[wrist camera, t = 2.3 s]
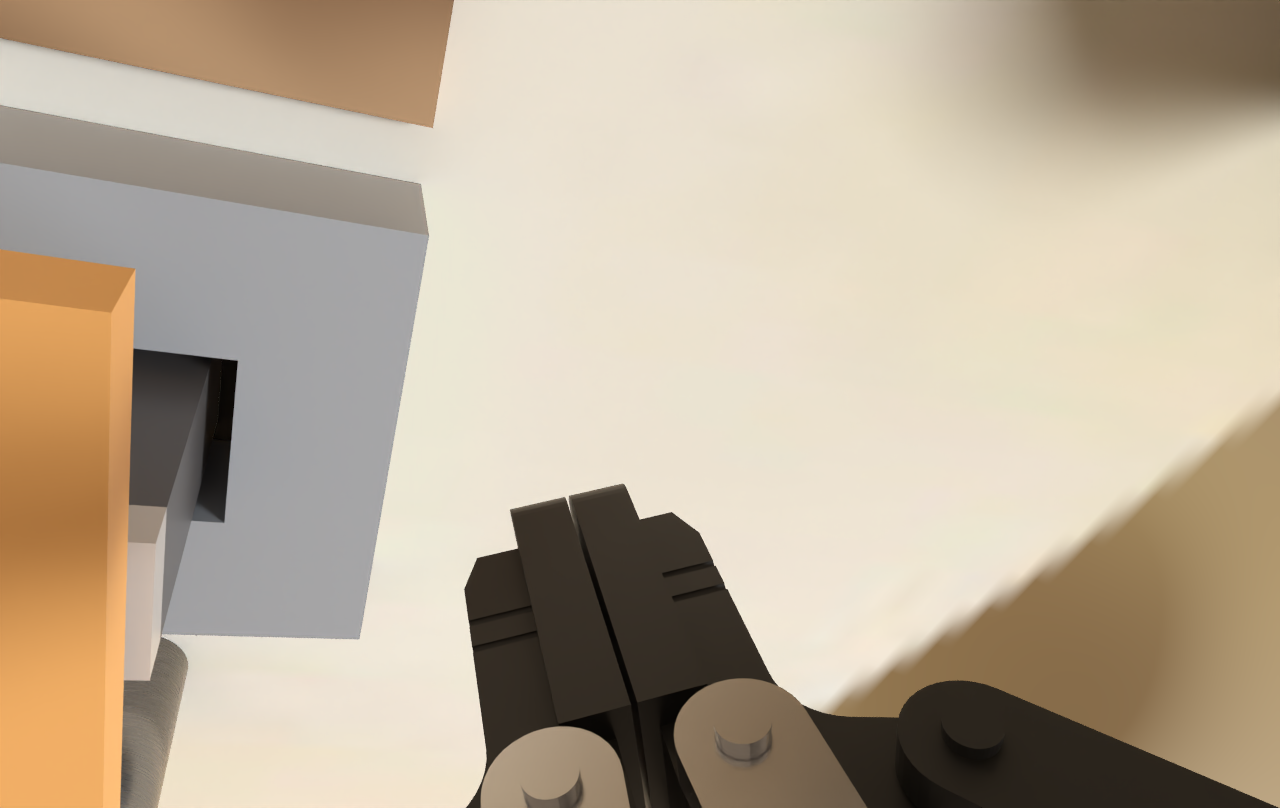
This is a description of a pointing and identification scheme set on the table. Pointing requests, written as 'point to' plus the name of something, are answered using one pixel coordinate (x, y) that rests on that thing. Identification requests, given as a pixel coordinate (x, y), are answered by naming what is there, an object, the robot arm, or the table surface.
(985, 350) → the table surface
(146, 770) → the post
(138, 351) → the plug
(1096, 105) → the table surface
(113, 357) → the orange flat bar
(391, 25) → the pad
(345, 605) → the socket block
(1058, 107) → the table surface
